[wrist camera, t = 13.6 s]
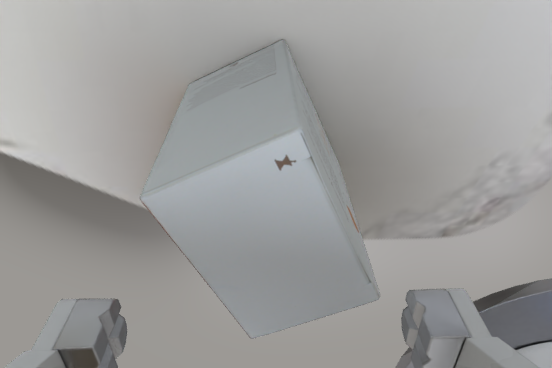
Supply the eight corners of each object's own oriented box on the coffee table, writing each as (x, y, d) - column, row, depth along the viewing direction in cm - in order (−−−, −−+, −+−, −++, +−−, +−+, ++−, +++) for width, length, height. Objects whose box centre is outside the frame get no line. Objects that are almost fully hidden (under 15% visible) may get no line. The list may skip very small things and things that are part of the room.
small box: (187, 81, 21) (129, 194, 12) (285, 35, 20) (300, 123, 11) (255, 197, 25) (248, 345, 16) (340, 163, 24) (383, 303, 15)
